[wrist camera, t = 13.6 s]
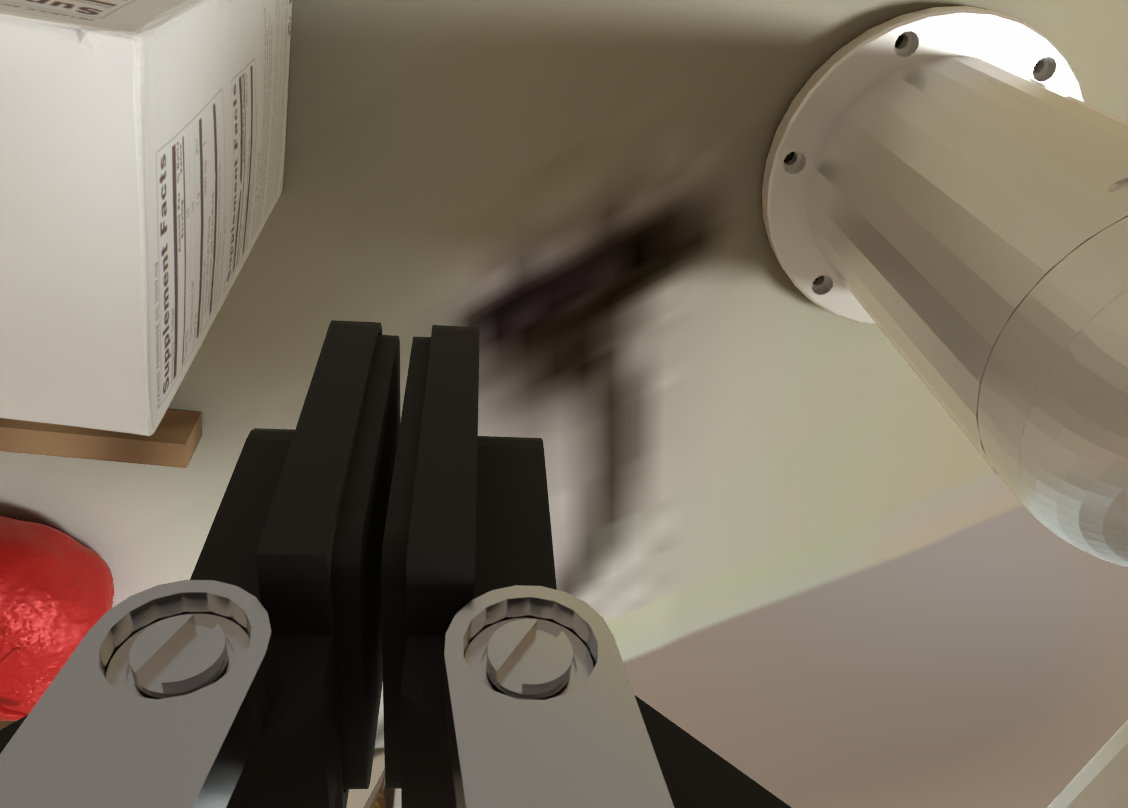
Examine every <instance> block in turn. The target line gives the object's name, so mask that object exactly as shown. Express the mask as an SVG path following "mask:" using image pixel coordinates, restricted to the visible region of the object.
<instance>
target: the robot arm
mask: <svg viewBox="0 0 1128 808" xmlns="http://www.w3.org/2000/svg"><path fill="white" fill-rule="evenodd" d="M901 34H903V41H902V43H901V44H900V45H899V46H896V47H895V42H896V40H897V38H898V37H899V36H900V35H901ZM1037 62H1038V64H1037V66H1036V67H1035V69H1033V68H1034V66H1035V65H1036V63H1037ZM791 152H794V156H793V158H792V159H791V160H790V161H787V162H785V161H784V159H785V157H786V156H787V155H788V154H789V153H791ZM762 204H763V220H764V224H765V228H766V231H767V235H768V239H769V243H770V246H771V248H772V250H773V251H774V253H775V255H776V257H777V259H778V261H779V263H780V265H781V267H782V268H783V270H784V271H785V272H786V274H787V275H788V276H789V278H790V279H791V281H792V282H793V284H794V285H795V286H796V287H797V288H798V289H799V290H800V291H801V292H802V293H803V294H804V295H805V296H806V297H807V298H808V299H809V300H811V301H812V302H813V303H815V304H817V305H818V306H820V307H822V308H823V309H825V310H827V311H829V312H830V313H832V314H834V315H837V316H840V317H843V318H845V319H848V320H851V321H854V322H857V323H865V324H872V325H877V326H878V327H879V328H880V329H881V331H882V332H883V333H884V334H885V336H886V337H887V338H888V339H889V341H890V342H891V343H892V344H893V345H894V347H895V348H896V349H897V350H898V352H899V353H900V354H901V355H902V357H903V358H904V359H905V360H906V362H907V363H908V364H909V365H910V367H911V368H912V369H913V370H914V372H915V373H916V374H917V375H918V377H919V378H920V379H921V380H922V382H923V383H924V384H925V385H926V387H927V388H928V389H929V390H930V392H931V393H932V394H933V395H934V397H935V398H936V399H937V400H938V402H939V403H940V404H941V405H942V407H943V408H944V409H945V410H946V412H947V413H948V414H949V415H950V417H951V418H952V419H953V420H954V421H955V423H956V424H957V425H958V426H959V428H960V429H961V430H962V431H963V433H964V434H965V435H966V436H967V438H968V439H969V440H970V441H971V443H972V444H973V445H974V446H975V448H976V449H977V450H978V451H979V453H980V454H981V455H982V456H983V458H984V459H985V460H986V461H987V463H988V464H989V465H990V466H991V468H992V469H993V470H994V471H995V473H996V474H997V475H999V476H1000V478H1001V479H1002V480H1003V481H1004V482H1005V484H1006V485H1007V486H1008V487H1009V489H1010V490H1011V491H1012V492H1013V493H1014V495H1015V496H1016V497H1017V498H1018V500H1019V501H1020V502H1021V503H1022V504H1023V505H1024V506H1025V507H1026V508H1027V509H1028V510H1029V511H1030V512H1031V514H1032V515H1034V517H1036V518H1037V519H1038V520H1039V521H1040V522H1041V523H1042V524H1043V525H1045V526H1046V527H1047V528H1048V529H1050V530H1051V531H1052V532H1053V533H1055V534H1056V535H1057V536H1059V537H1060V538H1062V539H1064V540H1065V541H1067V542H1068V543H1070V544H1072V545H1074V546H1076V547H1078V548H1079V549H1082V550H1083V551H1085V552H1087V553H1090V554H1091V555H1094V556H1096V557H1098V558H1101V559H1104V560H1106V561H1109V562H1112V563H1116V564H1119V565H1122V566H1126V567H1128V122H1127V121H1125V120H1123V119H1121V118H1118V117H1116V116H1114V115H1112V114H1109V113H1107V112H1105V111H1103V110H1100V109H1098V108H1096V107H1094V106H1091V105H1089V104H1087V103H1085V101H1084V97H1083V93H1082V89H1081V86H1080V82H1079V80H1078V78H1077V76H1076V74H1075V72H1074V71H1073V69H1072V67H1071V65H1070V63H1069V62H1068V60H1067V58H1066V56H1065V55H1064V54H1063V53H1062V52H1061V51H1060V50H1059V49H1058V48H1057V47H1056V46H1055V45H1054V44H1053V43H1052V41H1051V40H1050V39H1049V38H1048V37H1047V36H1046V35H1044V34H1042V33H1041V32H1039V31H1037V30H1036V29H1034V28H1033V27H1031V26H1029V25H1028V24H1026V23H1025V22H1023V21H1021V20H1018V19H1016V18H1013V17H1010V16H1007V15H1005V14H1002V13H999V12H996V11H991V10H986V9H980V8H975V7H970V6H950V7H933V8H928V9H924V10H920V11H916V12H911V13H907V14H903V15H900V16H898V17H896V18H893V19H891V20H889V21H887V22H884V23H882V24H880V25H878V26H875V27H873V28H871V29H869V30H867V31H866V32H864V33H863V34H861V35H860V36H858V37H857V38H855V39H854V40H852V41H851V42H849V43H848V44H846V45H845V46H843V47H842V48H840V49H839V50H838V51H837V52H836V53H835V54H834V55H833V56H832V57H831V58H830V59H828V60H827V61H826V62H825V63H824V64H823V65H822V66H821V67H820V68H819V69H818V70H817V71H816V72H814V74H813V75H812V76H811V77H810V79H809V80H808V81H807V83H806V84H805V85H804V86H803V88H802V89H801V90H800V92H799V93H798V94H797V95H796V97H795V98H794V99H793V101H792V103H791V104H790V106H789V108H788V110H787V112H786V114H785V115H784V117H783V119H782V121H781V123H780V125H779V127H778V128H777V130H776V133H775V136H774V139H773V142H772V145H771V148H770V151H769V154H768V157H767V160H766V166H765V173H764V179H763V186H762ZM819 276H821V277H820V278H819V279H818V280H817V281H814V280H815V279H816V278H818V277H819ZM478 383H479V327H459V326H438V325H433V327H432V335H431V337H413V343H412V349H411V356H410V363H409V369H408V376H407V383H406V389H405V396H404V403H403V409H402V416H401V423H400V341H399V336H390V335H382V326H381V323H375V322H354V321H333V320H332V321H331V323H330V325H329V328H328V331H327V335H326V338H325V341H324V344H323V347H322V350H321V353H320V356H319V359H318V362H317V365H316V368H315V371H314V375H313V378H312V381H311V384H310V387H309V390H308V393H307V396H306V399H305V402H304V405H303V408H302V412H301V415H300V418H299V421H298V424H297V427H296V430H287V429H258V428H255V429H253V430H251V432H250V434H249V435H248V437H247V439H246V442H245V444H244V447H243V449H242V452H241V454H240V457H239V459H238V462H237V464H236V467H235V469H234V472H233V474H232V477H231V479H230V482H229V484H228V487H227V489H226V492H225V494H224V497H223V499H222V502H221V504H220V506H219V509H218V511H217V514H216V516H215V519H214V521H213V524H212V526H211V529H210V531H209V534H208V536H207V539H206V541H205V544H204V546H203V549H202V551H201V554H200V556H199V559H198V561H197V564H196V566H195V569H194V571H193V574H192V576H191V579H190V580H184V581H178V582H173V583H168V584H163V585H158V586H155V587H153V588H150V589H148V590H145V591H143V592H140V593H138V594H135V595H132V596H130V597H129V598H127V599H126V600H124V601H123V602H121V603H120V604H118V605H116V606H115V607H113V608H112V609H110V610H109V611H107V612H106V613H105V614H104V615H103V616H102V617H101V618H100V619H99V621H98V622H97V623H96V624H95V625H94V626H93V627H92V628H91V629H90V630H89V631H88V632H87V634H86V635H85V637H84V638H83V639H82V641H81V642H80V644H79V645H78V646H77V648H76V649H75V651H74V652H73V653H72V655H71V656H70V657H69V659H68V660H67V662H66V663H65V664H64V666H63V667H62V669H61V670H60V671H59V673H58V674H57V676H56V677H55V678H54V680H53V681H52V683H51V684H50V685H49V687H48V688H47V690H46V691H45V692H44V694H43V695H42V697H41V698H40V699H39V701H38V702H37V703H36V705H35V706H34V708H33V709H32V710H31V712H30V713H29V714H28V715H27V716H25V717H23V718H21V719H19V720H17V721H16V722H14V723H12V724H10V725H8V726H7V727H5V728H3V729H1V730H0V808H346V805H347V798H348V792H349V789H368V788H369V784H370V777H371V770H372V763H373V755H374V747H375V739H376V731H377V723H378V715H379V707H380V699H381V691H382V682H383V703H384V748H385V786H386V789H401V808H791V807H790V806H788V805H787V804H785V803H784V802H783V801H781V800H780V799H778V798H777V797H776V796H774V795H773V794H772V793H770V792H769V791H767V790H766V789H765V788H763V787H762V786H760V785H759V784H758V783H756V782H755V781H754V780H752V779H750V778H749V777H748V776H747V775H745V774H744V773H742V772H741V771H739V770H738V769H737V768H735V767H734V766H733V765H731V764H730V763H728V762H727V761H726V760H724V759H723V758H722V757H720V756H719V755H717V754H716V753H715V752H713V751H712V750H710V749H709V748H708V747H706V746H705V745H703V744H702V743H701V742H699V741H698V740H696V739H695V738H694V737H692V736H691V735H690V734H688V733H686V732H685V731H684V730H683V729H681V728H680V727H678V726H677V725H676V724H674V723H673V722H671V721H670V720H668V719H667V718H665V717H664V716H663V715H662V714H660V713H659V712H658V711H656V710H655V709H653V708H652V707H651V706H649V705H648V704H646V703H645V702H644V701H642V700H641V699H639V698H638V697H637V696H635V695H634V692H633V690H632V687H631V684H630V681H629V679H628V676H627V673H626V670H625V667H624V664H623V661H622V659H621V656H620V653H619V650H618V647H617V645H616V642H615V639H614V636H613V635H612V633H611V631H610V629H609V628H608V626H607V624H606V622H605V621H604V619H603V618H602V617H601V616H600V615H599V614H598V613H597V612H596V611H595V610H594V609H592V608H591V607H590V606H589V605H588V604H587V603H586V602H584V601H582V600H580V599H578V598H576V597H574V596H572V595H570V594H568V593H566V592H563V591H559V590H557V589H556V578H555V567H554V556H553V545H552V534H551V523H550V512H549V501H548V490H547V479H546V468H545V457H544V447H543V440H542V439H541V438H517V437H489V436H478ZM1048 808H1128V720H1127V721H1126V722H1125V724H1124V725H1123V726H1122V727H1121V728H1120V729H1119V730H1118V731H1117V732H1116V733H1115V734H1114V735H1113V737H1112V738H1111V739H1110V740H1109V741H1108V742H1107V743H1106V744H1105V745H1104V746H1103V747H1102V748H1101V749H1100V751H1099V752H1098V753H1097V754H1096V755H1095V756H1094V757H1093V758H1092V759H1091V760H1090V761H1089V763H1088V764H1087V765H1086V766H1085V767H1084V768H1083V769H1082V770H1081V771H1080V772H1079V773H1078V774H1077V776H1076V777H1075V778H1074V779H1073V780H1072V781H1071V782H1070V783H1069V784H1068V785H1067V787H1066V788H1064V789H1063V791H1062V792H1061V793H1060V794H1059V795H1058V796H1057V797H1056V798H1055V799H1054V801H1053V802H1052V803H1051V804H1050V805H1049V806H1048Z"/></svg>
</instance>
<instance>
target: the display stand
mask: <svg viewBox="0 0 1128 808" xmlns="http://www.w3.org/2000/svg"><path fill="white" fill-rule="evenodd" d="M201 436H202V418H201V412H193V411H183V410H173V409H167V411H166V413H165V414H164V416H163V418H162V420H161V422H160V423H159V425H158V427H157V429H156V430H155V432H154V433H153V434H152V435H150V436H145V435H139V434H132V433H124V432H116V431H108V430H99V429H91V428H84V427H76V426H68V425H59V424H50V423H41V422H32V421H23V420H15V419H6V418H0V451H7V452H18V453H29V454H40V455H51V456H62V457H73V458H84V459H95V460H106V461H117V462H128V463H139V464H150V465H161V466H172V467H183V468H187V466H188V464H189V462H190V460H191V458H192V455H193V453H194V451H195V449H196V447H197V445H198V443H199V441H200V438H201ZM14 722H16V721H0V730H1V729H3V728H5V727H7V726H8V725H10V724H12V723H14Z"/></svg>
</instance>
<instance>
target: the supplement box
mask: <svg viewBox="0 0 1128 808" xmlns="http://www.w3.org/2000/svg"><path fill="white" fill-rule="evenodd" d="M291 19H292V0H0V418H6V419H15V420H23V421H32V422H41V423H50V424H59V425H68V426H76V427H84V428H91V429H99V430H108V431H116V432H124V433H132V434H139V435H145V436H150V435H152V434H153V433H154V432H155V430H156V429H157V427H158V425H159V423H160V422H161V420H162V418H163V416H164V414H165V413H166V411H167V409H168V407H169V405H170V403H171V401H172V399H173V397H174V396H175V394H176V392H177V390H178V388H179V386H180V384H181V383H182V381H183V379H184V377H185V375H186V373H187V371H188V369H189V367H190V366H191V364H192V362H193V360H194V358H195V356H196V354H197V352H198V350H199V349H200V347H201V345H202V343H203V341H204V339H205V337H206V335H207V333H208V331H209V329H210V327H211V326H212V324H213V322H214V320H215V318H216V316H217V314H218V313H219V311H220V309H221V307H222V305H223V303H224V301H225V299H226V298H227V296H228V294H229V292H230V290H231V288H232V286H233V284H234V282H235V281H236V279H237V277H238V275H239V273H240V271H241V269H242V267H243V265H244V264H245V262H246V260H247V258H248V256H249V254H250V252H251V250H252V248H253V246H254V244H255V242H256V240H257V238H258V237H259V235H260V233H261V231H262V229H263V227H264V225H265V223H266V221H267V220H268V218H269V216H270V214H271V212H272V210H273V209H274V207H275V205H276V203H277V201H278V199H279V197H280V196H281V193H282V187H283V177H284V162H285V142H286V120H287V99H288V78H289V58H290V39H291Z"/></svg>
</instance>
